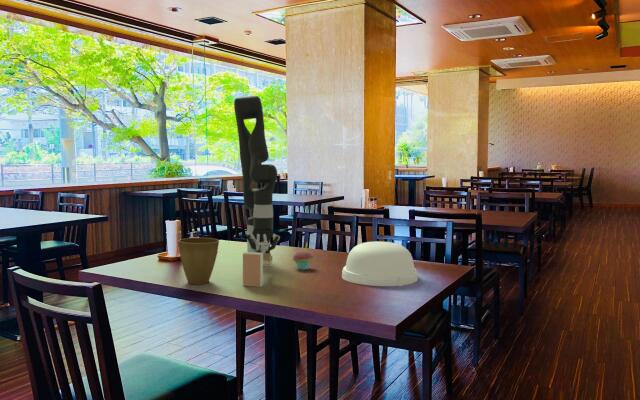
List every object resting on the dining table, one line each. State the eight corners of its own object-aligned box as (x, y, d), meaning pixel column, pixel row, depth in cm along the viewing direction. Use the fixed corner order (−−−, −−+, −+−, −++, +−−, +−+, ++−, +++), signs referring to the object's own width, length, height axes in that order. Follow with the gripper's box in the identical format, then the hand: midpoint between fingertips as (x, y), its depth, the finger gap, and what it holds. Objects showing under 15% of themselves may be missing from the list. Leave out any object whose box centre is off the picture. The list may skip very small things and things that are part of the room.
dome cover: (328, 272, 216) (328, 239, 215) (390, 267, 228) (391, 235, 227) (365, 290, 186) (366, 251, 185) (434, 283, 199) (435, 246, 198)
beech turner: (258, 265, 210) (259, 255, 211) (279, 266, 208) (280, 256, 209) (246, 262, 197) (247, 252, 198) (268, 264, 195) (269, 253, 196)
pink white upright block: (245, 283, 194) (245, 251, 193) (263, 284, 192) (263, 252, 191) (242, 285, 191) (242, 253, 190) (260, 286, 189) (260, 254, 188)
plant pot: (200, 288, 185) (200, 244, 184) (169, 283, 192) (169, 240, 191) (227, 280, 198) (227, 239, 197) (197, 276, 205) (197, 236, 204)
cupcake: (316, 267, 224) (316, 240, 224) (307, 271, 217) (307, 242, 216) (298, 265, 228) (298, 238, 227) (289, 269, 220) (289, 241, 219)
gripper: (283, 215, 203) (283, 259, 204) (249, 214, 206) (249, 257, 207) (277, 217, 196) (277, 263, 197) (242, 216, 199) (242, 261, 200)
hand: (263, 260), depth 202 cm, fingers closed on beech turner, 2 cm apart
